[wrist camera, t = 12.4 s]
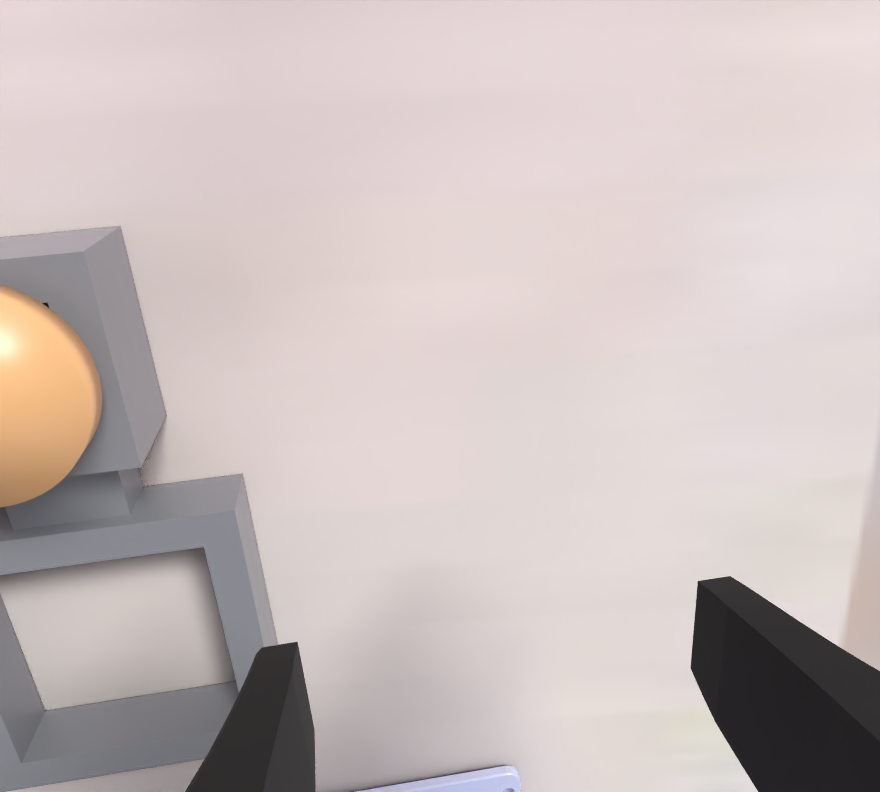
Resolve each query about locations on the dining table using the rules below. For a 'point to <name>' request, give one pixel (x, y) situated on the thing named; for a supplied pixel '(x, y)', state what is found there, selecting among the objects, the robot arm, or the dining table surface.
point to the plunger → (42, 397)
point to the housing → (118, 531)
